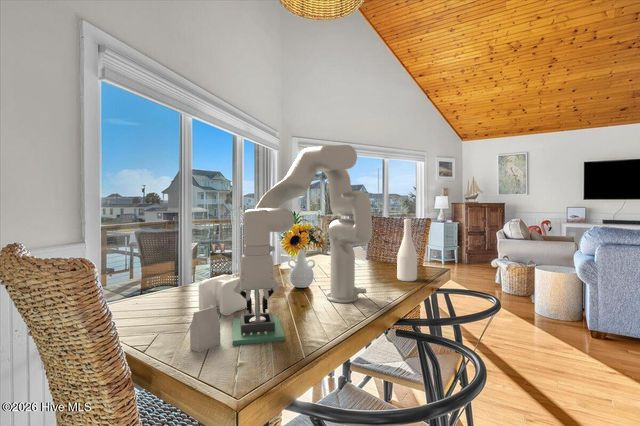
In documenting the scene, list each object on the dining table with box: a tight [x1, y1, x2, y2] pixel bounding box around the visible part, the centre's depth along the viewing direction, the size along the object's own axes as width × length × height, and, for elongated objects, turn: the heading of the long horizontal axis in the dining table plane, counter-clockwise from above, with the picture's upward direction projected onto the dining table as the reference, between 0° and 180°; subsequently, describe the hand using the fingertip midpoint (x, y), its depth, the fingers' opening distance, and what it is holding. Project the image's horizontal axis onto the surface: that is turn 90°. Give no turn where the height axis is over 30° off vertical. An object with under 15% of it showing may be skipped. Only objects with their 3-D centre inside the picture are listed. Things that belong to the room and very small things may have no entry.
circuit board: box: [232, 312, 286, 346], centre depth 104 cm, size 14×18×4 cm
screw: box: [249, 290, 266, 323], centre depth 104 cm, size 13×5×5 cm
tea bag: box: [189, 306, 221, 353], centre depth 93 cm, size 4×7×10 cm, turn 145°
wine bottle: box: [396, 218, 418, 282], centre depth 172 cm, size 10×10×30 cm
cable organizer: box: [198, 274, 247, 317], centre depth 123 cm, size 15×11×12 cm
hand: (257, 311), depth 104 cm, fingers open, 3 cm apart
